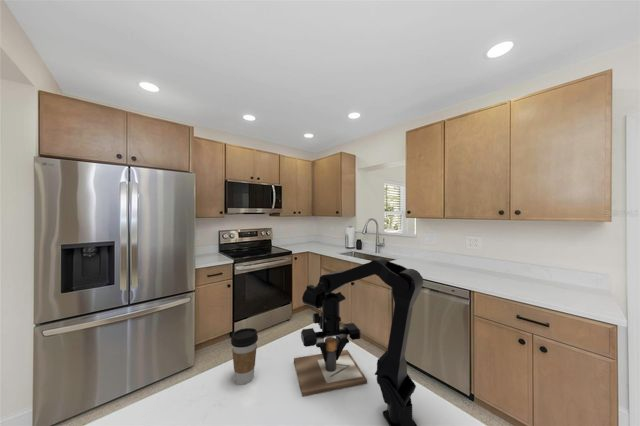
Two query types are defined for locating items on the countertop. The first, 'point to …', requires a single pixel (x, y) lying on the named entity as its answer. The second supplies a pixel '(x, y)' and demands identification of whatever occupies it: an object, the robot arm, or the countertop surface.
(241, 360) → the coffee cup
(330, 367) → the black and orange cylinder
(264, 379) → the countertop surface
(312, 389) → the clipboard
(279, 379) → the countertop surface
